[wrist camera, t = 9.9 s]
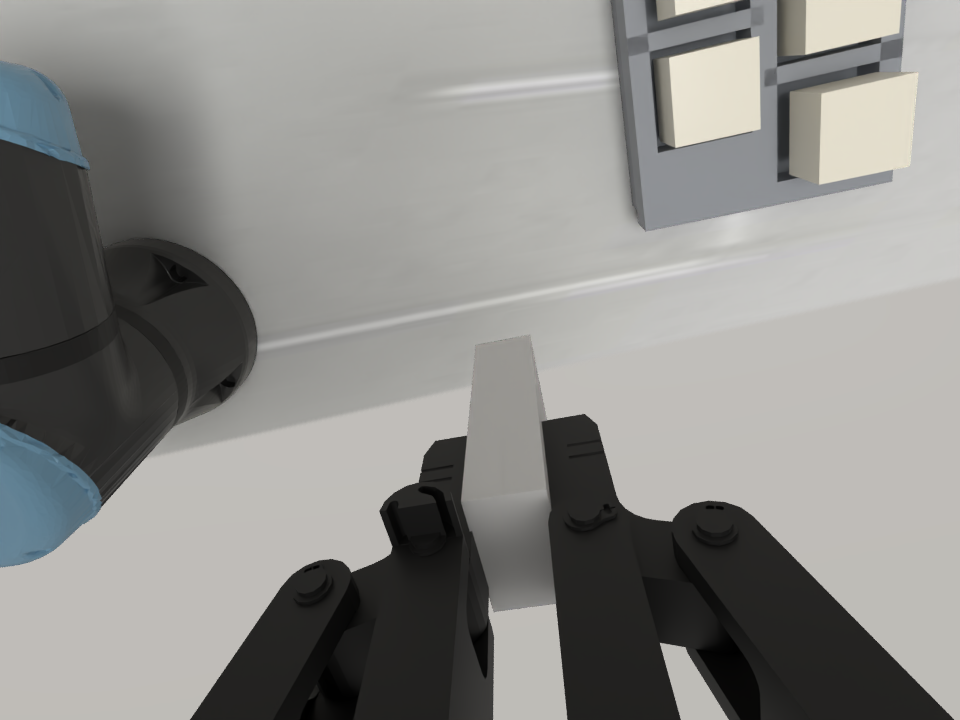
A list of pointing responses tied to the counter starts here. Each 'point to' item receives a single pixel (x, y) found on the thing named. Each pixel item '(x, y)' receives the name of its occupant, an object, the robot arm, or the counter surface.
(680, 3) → the button
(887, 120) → the button
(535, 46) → the counter surface
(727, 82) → the button
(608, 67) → the counter surface
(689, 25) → the board
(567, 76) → the counter surface
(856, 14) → the button
